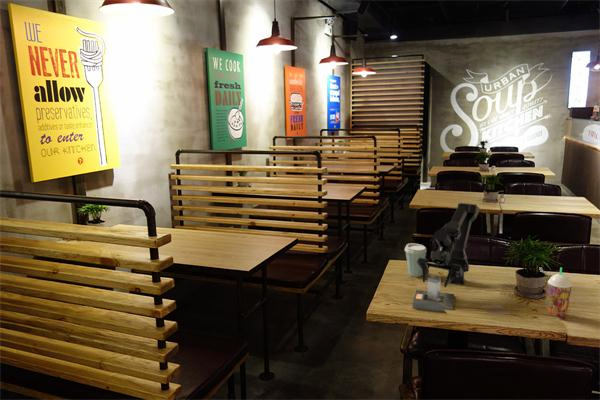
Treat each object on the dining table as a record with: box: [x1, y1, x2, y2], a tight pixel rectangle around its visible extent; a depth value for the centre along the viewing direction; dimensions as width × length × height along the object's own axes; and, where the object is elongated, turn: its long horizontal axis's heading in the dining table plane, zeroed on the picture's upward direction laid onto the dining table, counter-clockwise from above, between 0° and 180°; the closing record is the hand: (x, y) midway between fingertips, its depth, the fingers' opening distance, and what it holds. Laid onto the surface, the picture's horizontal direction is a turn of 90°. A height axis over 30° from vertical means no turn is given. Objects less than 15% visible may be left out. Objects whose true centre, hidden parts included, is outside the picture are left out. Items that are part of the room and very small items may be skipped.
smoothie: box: [546, 267, 573, 319], centre depth 185 cm, size 8×8×20 cm
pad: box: [480, 303, 510, 315], centre depth 191 cm, size 8×8×2 cm
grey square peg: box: [426, 274, 442, 302], centre depth 200 cm, size 4×4×12 cm
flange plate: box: [412, 289, 455, 313], centre depth 201 cm, size 14×16×3 cm
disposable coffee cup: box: [404, 242, 427, 278], centre depth 232 cm, size 11×11×15 cm
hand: (433, 284), depth 199 cm, fingers open, 9 cm apart
